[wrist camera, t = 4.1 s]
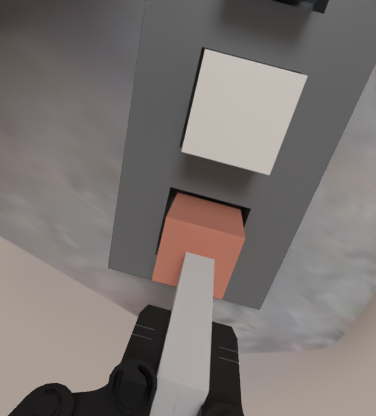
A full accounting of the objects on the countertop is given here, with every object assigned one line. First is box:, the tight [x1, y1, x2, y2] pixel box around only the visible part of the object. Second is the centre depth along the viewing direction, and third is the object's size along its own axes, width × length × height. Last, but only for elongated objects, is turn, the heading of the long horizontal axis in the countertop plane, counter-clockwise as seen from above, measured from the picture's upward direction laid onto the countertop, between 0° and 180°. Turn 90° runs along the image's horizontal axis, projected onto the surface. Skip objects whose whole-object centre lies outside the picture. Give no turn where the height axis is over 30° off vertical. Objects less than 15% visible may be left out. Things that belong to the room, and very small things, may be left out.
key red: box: [152, 193, 245, 299], centre depth 17 cm, size 4×4×4 cm
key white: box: [181, 49, 308, 175], centre depth 14 cm, size 4×4×4 cm
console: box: [108, 0, 376, 310], centre depth 17 cm, size 12×26×4 cm, turn 166°
